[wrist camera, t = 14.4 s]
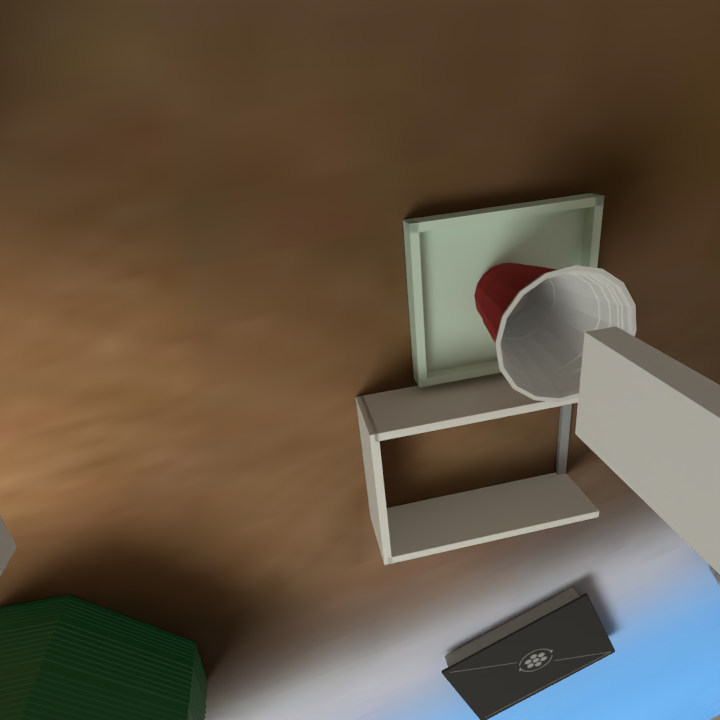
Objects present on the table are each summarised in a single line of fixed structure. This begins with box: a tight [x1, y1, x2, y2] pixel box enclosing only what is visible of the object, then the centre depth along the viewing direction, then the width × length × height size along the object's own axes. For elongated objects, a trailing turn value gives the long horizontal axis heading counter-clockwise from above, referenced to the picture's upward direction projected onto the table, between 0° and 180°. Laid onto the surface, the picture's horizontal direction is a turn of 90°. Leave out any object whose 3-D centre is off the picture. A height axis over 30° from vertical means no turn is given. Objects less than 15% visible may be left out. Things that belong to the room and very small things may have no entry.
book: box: [442, 587, 615, 720], centre depth 72 cm, size 22×15×3 cm
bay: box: [356, 372, 599, 565], centre depth 53 cm, size 23×16×7 cm
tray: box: [403, 193, 604, 388], centre depth 48 cm, size 18×16×2 cm
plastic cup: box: [474, 263, 636, 402], centre depth 43 cm, size 11×11×12 cm
